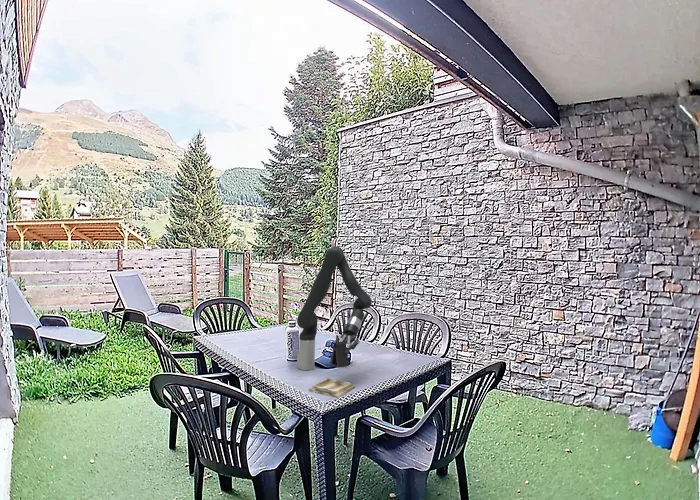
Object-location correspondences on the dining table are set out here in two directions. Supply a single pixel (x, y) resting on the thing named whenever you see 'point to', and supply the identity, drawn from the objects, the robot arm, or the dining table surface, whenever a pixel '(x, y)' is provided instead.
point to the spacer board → (332, 387)
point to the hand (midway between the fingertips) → (341, 354)
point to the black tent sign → (339, 355)
